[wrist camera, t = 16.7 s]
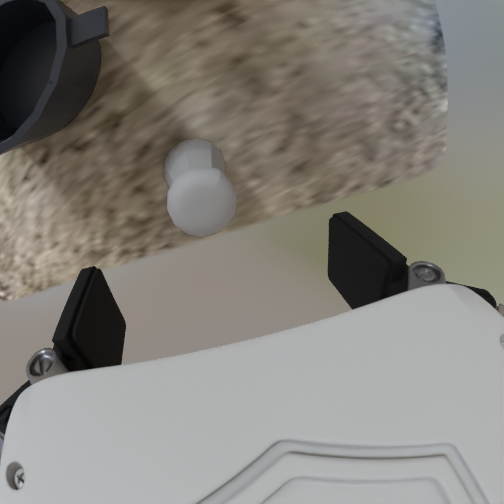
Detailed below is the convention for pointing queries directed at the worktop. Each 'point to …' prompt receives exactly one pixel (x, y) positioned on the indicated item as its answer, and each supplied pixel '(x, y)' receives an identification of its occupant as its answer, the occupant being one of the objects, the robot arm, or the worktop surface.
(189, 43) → the worktop surface
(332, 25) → the worktop surface
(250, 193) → the worktop surface
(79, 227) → the worktop surface
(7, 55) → the pot
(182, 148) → the salt shaker
